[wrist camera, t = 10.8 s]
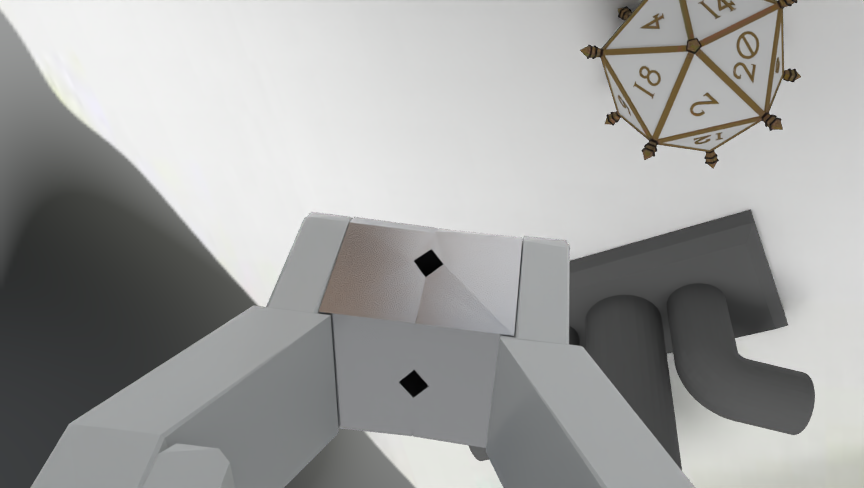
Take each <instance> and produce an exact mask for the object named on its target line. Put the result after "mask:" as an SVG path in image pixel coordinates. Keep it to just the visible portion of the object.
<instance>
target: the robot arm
mask: <svg viewBox="0 0 864 488" xmlns="http://www.w3.org/2000/svg"><path fill="white" fill-rule="evenodd" d="M569 264H570V246H569V244H568V242H567V240H558V239H546V238H535V237H524V238H523V241H522V237H513V236H503V235H494V234H485V233H476V232H466V231H457V230H448V229H438V228H433V227H426V226H418V225H411V224H404V223H396V222H389V221H381V220H374V219H367V218H359V217H354V218H351V217H348V216H340V215H332V214H324V213H317V212H311V213H310V214H309V215H308V216H307V217H306V218H304V220H303V222H302V224H301V227H300V229H299V231H298V234H297V236H296V239H295V241H294V243H293V246H292V248H291V250H290V253H289V255H288V257H287V260H286V262H285V264H284V267H283V269H282V271H281V274H280V276H279V278H278V281H277V283H276V285H275V288H274V290H273V292H272V295H271V297H270V299H269V302H268V304H267V306H266V307H261V306H252V307H251V308H249V309H248V310H246V311H244V312H243V313H241V314H240V315H238V316H237V317H235V318H233V319H232V320H231V321H229V322H227V323H226V324H224V325H223V326H221V327H219V328H218V329H216V330H215V331H213V332H212V333H210V334H209V335H207V336H206V337H204V338H202V339H201V340H199V341H198V342H196V343H195V344H193V345H191V346H190V347H188V348H187V349H185V350H184V351H182V352H180V353H179V354H177V355H176V356H174V357H173V358H171V359H170V360H168V361H167V362H165V363H163V364H162V365H160V366H159V367H157V368H156V369H154V370H152V371H151V372H149V373H148V374H146V375H145V376H143V377H142V378H140V379H138V380H137V381H135V382H134V383H132V384H131V385H129V386H127V387H126V388H124V389H123V390H121V391H120V392H118V393H117V394H115V395H113V396H112V397H111V398H109V399H107V400H106V401H104V402H103V403H101V404H99V405H98V406H96V407H95V408H93V409H92V410H90V411H88V412H87V413H85V414H84V415H82V416H81V417H79V418H78V419H76V420H74V421H73V422H71V423H70V424H69V425H68V427H67V428H66V430H65V432H64V433H63V435H62V437H61V438H60V440H59V442H58V443H57V445H56V447H55V448H54V450H53V452H52V453H51V455H50V457H49V458H48V460H47V462H46V463H45V465H44V466H43V468H42V470H41V471H40V473H39V475H38V476H37V478H36V480H35V481H34V483H33V485H32V486H31V488H284V487H285V486H286V485H287V484H288V483H289V482H290V481H291V480H292V479H293V478H294V477H295V476H296V475H297V474H298V473H299V472H300V471H301V470H302V469H303V468H304V467H305V466H306V465H307V463H309V462H310V461H311V460H312V459H313V458H314V457H315V456H316V455H317V454H318V453H319V452H320V451H321V450H322V449H323V448H324V447H325V446H326V445H327V444H328V443H329V442H330V441H331V440H332V439H333V438H334V437H335V436H336V435H337V434H338V433H339V430H338V428H343V429H351V430H361V431H370V432H379V433H388V434H397V435H407V436H412V435H413V436H414V437H421V438H427V439H433V440H439V441H445V442H451V443H458V444H464V445H470V446H476V447H482V448H486V453H487V455H488V457H489V459H490V461H491V463H492V465H493V467H494V469H495V471H496V474H497V476H498V478H499V480H500V482H501V484H502V486H503V488H695V487H694V485H693V484H692V483H691V482H690V480H689V479H688V478H687V477H686V475H685V474H684V473H683V472H682V470H681V469H680V468H679V467H678V465H677V464H676V463H675V462H674V460H673V459H672V458H671V457H670V455H669V454H668V453H667V452H666V450H665V449H664V448H663V447H662V445H661V444H660V443H659V442H658V440H657V439H656V438H655V437H654V435H653V434H652V433H651V432H650V430H649V429H648V428H647V427H646V425H645V424H644V423H643V422H642V420H641V419H640V418H639V417H638V415H637V414H636V413H635V412H634V410H633V409H632V408H631V407H630V405H629V404H628V403H627V402H626V400H625V399H624V398H623V396H622V395H621V394H620V393H619V391H618V390H617V389H616V388H615V386H614V385H613V384H612V383H611V381H610V380H609V379H608V378H607V376H606V375H605V374H604V373H603V371H602V370H601V369H600V368H599V366H598V365H597V364H596V363H595V361H594V360H593V359H592V358H591V356H590V355H589V354H588V353H587V351H586V350H585V349H584V348H583V347H582V346H576V345H569Z"/></svg>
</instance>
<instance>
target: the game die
mask: <svg viewBox="0 0 864 488" xmlns="http://www.w3.org/2000/svg"><path fill="white" fill-rule="evenodd" d="M793 3H797V0H778V1H777V0H643V1H642V2H641V3H640V5H639V6H638V7H637V8H636V9H635V10H634V12H633V13H631V10H630V9H629V10H628V7H625V8H620V9H618V13H619V15H618V17H620V18H622V20H626V21H625V22H624V23H623V24H622V25H621V27H620V28H619V29H618V30H617V31H616V32H615V34H614V35H613V36H612V37H611V38H610V39H609V41H608V42H607V43H606V44H605V45H604V46H603V47H602V49H599V48H598V47H596V46H594V47H593V46H591V45H588V46H587V47H585V48H583V49H581V50H580V51H581V52H582V53H583V54H584V55H585V56H587V59H589V58H593V59H594V58H596V57H600V58H601V61H602V64H603V67H604V70H605V74H606V77H607V80H608V83H609V87H610V90H611V93H612V97H613V100H614V103H615V106H616V110H617V111H616V112H611V114H607V119H606V122H605V124H612V125H614V124H615V122H616V123H617V122H618V121H619V119H620V118H621V117H622V118H623V119H624V120H625V121H626V122H628V123H629V124H630V125H631V126H632V127H634V128H635V129H636V130H637V131H638V132H640V133H641V134H642V135H643V136H644V137H646V138H647V139H648V140H649V143H647V144H646V145H645V146H644V147H645V148H644V149H643V150H642V152H643V156H644V160H646V159H648V158H650V157H652V156H655V152H657V148H656V146H657V145H664V146H671V147H678V148H685V149H692V150H699V151H705V152H706V156H705V159H706V162H705V164H708V165H709V166H711V167H712V168H714V166H715V164H716V163H717V161H719V160H718V159H717V154H715V152H714V150H715V149H716V148H718V147H719V146H721V145H723V144H724V143H726V142H728V141H729V140H731V139H732V138H734V137H736V136H737V135H739V134H741V133H742V132H744V131H746V130H747V129H749V128H750V127H752V126H754V125H755V124H757V123H759V122H760V121H764V123H765V126H766V127H767V126H768V127H769V128H770V131H771V130H773V129H780V130H783V128H782V124H781V119H780V118H776V117H777V116H776V115H770V114H769V111H770V108H771V106H772V103H773V101H774V98H775V96H776V93H777V91H778V88H779V86H780V83H781V80H782V79H783V78H784V80H786V81H791V82H794V81H795V80H796V79H798V78H800V77H801V76H800V75H799V74H798V73H797V72H796V69H793V70H791V69H788V70H785V71H784V49H783V8H784V7H786V6H792V5H791V4H793Z"/></svg>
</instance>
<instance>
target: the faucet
mask: <svg viewBox="0 0 864 488" xmlns="http://www.w3.org/2000/svg"><path fill="white" fill-rule="evenodd" d="M787 325H788V324H787V320H786V317H785V313H784V310H783V307H782V304H781V301H780V298H779V295H778V292H777V289H776V286H775V283H774V280H773V277H772V274H771V271H770V268H769V265H768V262H767V259H766V256H765V253H764V250H763V247H762V244H761V241H760V237H759V234H758V231H757V228H756V225H755V222H754V219H753V216H752V213H751V210H748V211H744V212H741V213H737V214H734V215H730V216H727V217H723V218H720V219H716V220H713V221H709V222H706V223H702V224H699V225H695V226H692V227H688V228H685V229H681V230H677V231H674V232H670V233H667V234H663V235H660V236H656V237H653V238H649V239H646V240H642V241H639V242H635V243H632V244H628V245H625V246H621V247H618V248H614V249H611V250H607V251H604V252H600V253H597V254H593V255H590V256H586V257H583V258H579V259H576V260H572V261H570V264H569V345H576V346H582V347H583V348H584V349H585V350H586V351H587V353H588V354H589V355H590V356H591V358H592V359H593V360H594V361H595V363H596V364H597V365H598V366H599V368H600V369H601V370H602V371H603V373H604V374H605V375H606V376H607V378H608V379H609V380H610V381H611V383H612V384H613V385H614V386H615V388H616V389H617V390H618V391H619V393H620V394H621V395H622V396H623V398H624V399H625V400H626V402H627V403H628V404H629V405H630V407H631V408H632V409H633V410H634V412H635V413H636V414H637V415H638V417H639V418H640V419H641V420H642V422H643V423H644V424H645V425H646V427H647V428H648V429H649V430H650V432H651V433H652V434H653V435H654V437H655V438H656V439H657V440H658V442H659V443H660V444H661V445H662V447H663V448H664V449H665V450H666V452H667V453H668V454H669V455H670V457H671V458H672V459H673V460H674V462H675V463H676V464H677V465H678V467H679V468H680V469H681V470H682V467H681V459H680V452H679V444H678V437H677V429H676V422H675V414H674V407H673V399H672V392H671V384H670V377H669V369H668V362H667V353H671V352H673V354H674V361H675V366H676V370H677V373H678V375H679V377H680V379H681V381H682V383H683V385H684V386H685V388H686V389H687V390H688V392H689V393H690V394H691V395H692V396H693V397H694V398H695V399H696V400H697V401H698V402H699V403H700V404H701V405H703V406H704V407H706V408H707V409H709V410H710V411H712V412H713V413H715V414H717V415H719V416H722V417H724V418H726V419H730V420H733V421H737V422H741V423H745V424H750V425H754V426H758V427H762V428H766V429H770V430H775V431H779V432H783V433H787V434H792V435H796V434H799V433H800V432H802V431H803V430H804V429H805V427H806V426H807V424H808V422H809V420H810V418H811V415H812V412H813V408H814V402H815V392H814V386H813V382H812V380H811V378H810V377H809V376H808V375H807V374H806V373H803V372H799V371H795V370H790V369H786V368H782V367H778V366H774V365H770V364H766V363H761V362H757V361H753V360H749V359H745V358H743V357H742V356H740V355H739V354H738V351H737V347H736V342H735V338H738V337H742V336H746V335H751V334H755V333H760V332H764V331H769V330H773V329H777V328H780V327H784V326H787ZM469 448H470V450H471V452H472V454H473V455H474V457H475V458H476V459H478V460H479V461H484V460H489V457H488V455H487V453H486V448H482V447H476V446H470V445H469Z"/></svg>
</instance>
